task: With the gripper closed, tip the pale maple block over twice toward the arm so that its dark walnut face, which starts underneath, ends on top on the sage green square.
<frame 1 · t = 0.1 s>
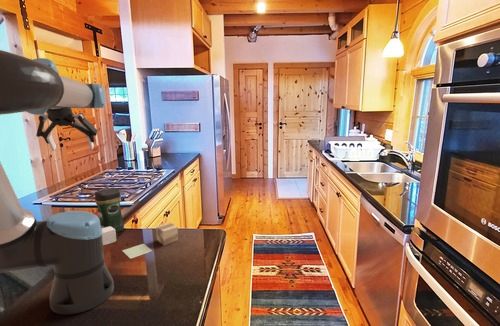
hand: (73, 148, 112), 36 cm above the table, tool tilted 35°, fingers open, 13 cm apart
coffee jar: (111, 231, 119), on the table
maple block: (167, 241, 110), on the table
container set: (86, 249, 103), on the table
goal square: (137, 251, 102), on the table
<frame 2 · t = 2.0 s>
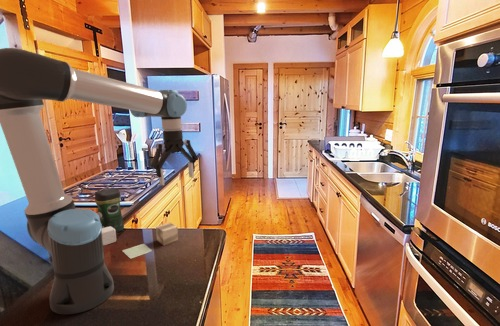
hand: (177, 180, 115), 22 cm above the table, tool pointing down, fingers open, 13 cm apart
nothing on the table moved.
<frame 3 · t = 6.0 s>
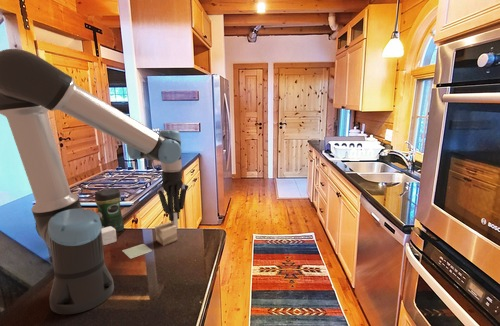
hand: (174, 227, 111), 5 cm above the table, tool pointing down, fingers closed
maple block: (166, 240, 110), on the table, touching gripper
everything else where it was.
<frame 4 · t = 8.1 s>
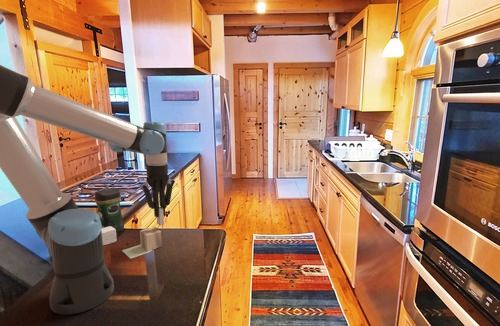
hand: (160, 224, 107), 8 cm above the table, tool pointing down, fingers closed
maple block: (158, 236, 107), point 3 cm above the table, tilted 89°, touching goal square
everything else where it was.
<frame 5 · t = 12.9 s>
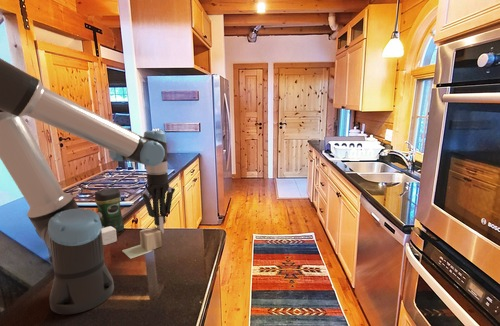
hand: (160, 232, 107), 4 cm above the table, tool pointing down, fingers closed
maple block: (158, 236, 107), point 3 cm above the table, tilted 89°, touching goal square, gripper
everything else where it was.
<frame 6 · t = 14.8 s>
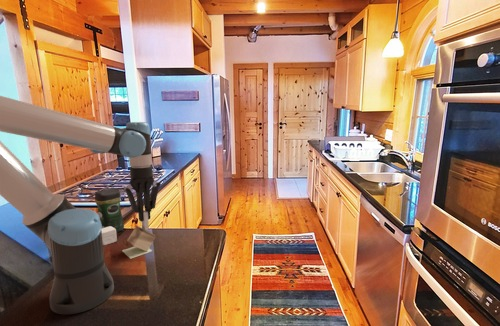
hand: (145, 228, 103), 8 cm above the table, tool pointing down, fingers closed
maple block: (146, 230, 103), point 7 cm above the table, tilted 141°, touching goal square, gripper
everything else where it was.
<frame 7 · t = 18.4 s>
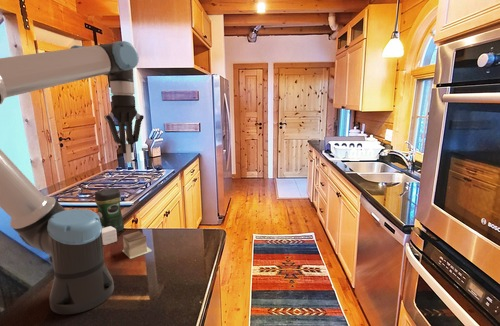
hand: (128, 162, 100), 32 cm above the table, tool pointing down, fingers closed
maple block: (134, 235, 100), point 6 cm above the table, tilted 180°, touching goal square
everything else where it was.
at the end: maple block tilted 180°; maple block inside the target area (0.1 cm from its centre), point 6.1 cm above the table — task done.
